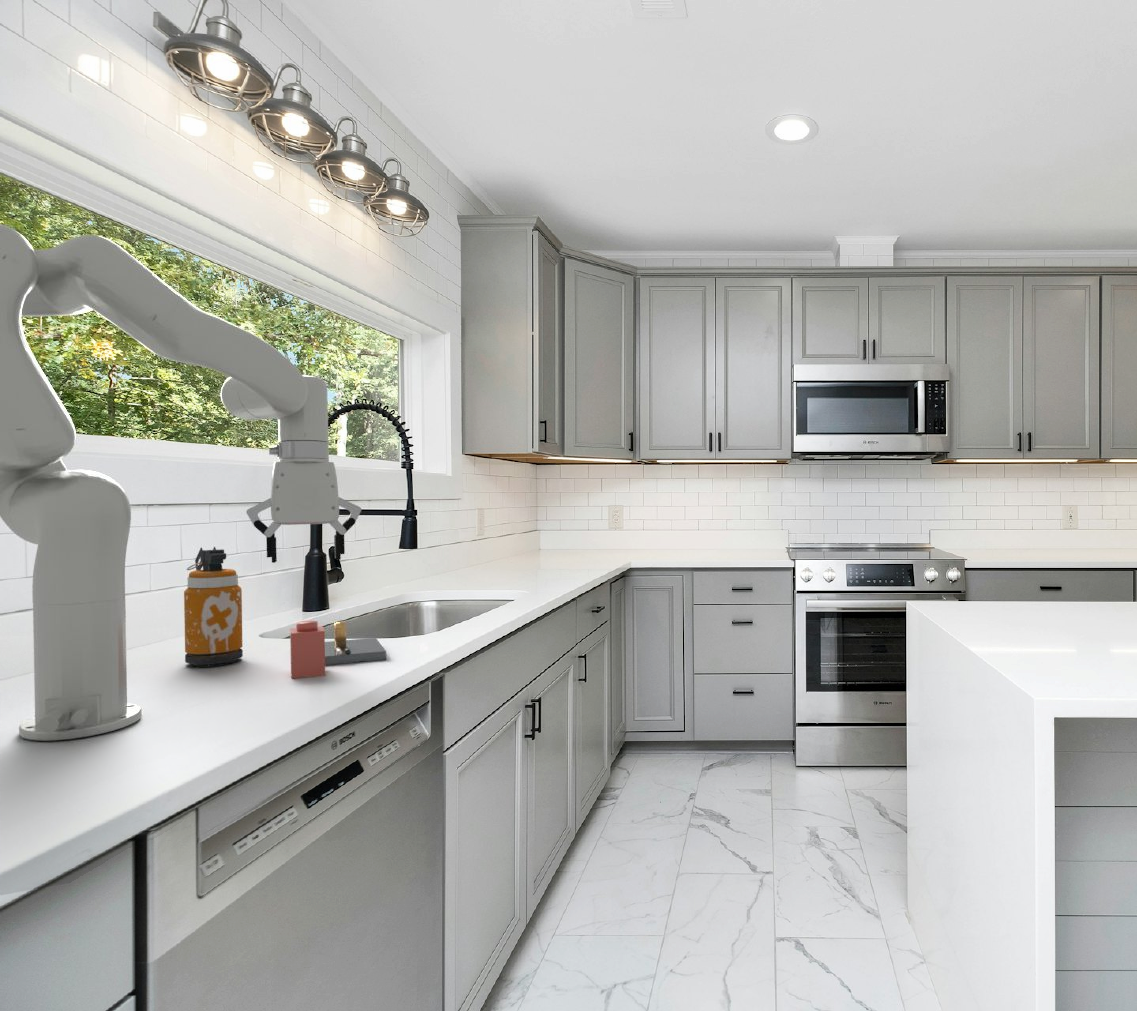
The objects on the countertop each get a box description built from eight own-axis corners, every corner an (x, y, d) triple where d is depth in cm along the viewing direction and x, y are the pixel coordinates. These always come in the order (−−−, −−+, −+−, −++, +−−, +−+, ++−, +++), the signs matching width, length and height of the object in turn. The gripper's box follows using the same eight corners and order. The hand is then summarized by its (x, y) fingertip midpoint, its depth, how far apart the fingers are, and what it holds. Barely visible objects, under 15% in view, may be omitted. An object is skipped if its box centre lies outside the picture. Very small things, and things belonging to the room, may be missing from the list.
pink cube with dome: (325, 675, 116) (324, 623, 116) (291, 678, 114) (290, 625, 114) (323, 668, 121) (322, 619, 120) (290, 671, 119) (290, 621, 119)
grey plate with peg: (386, 660, 126) (385, 625, 126) (300, 668, 121) (299, 632, 121) (375, 645, 140) (375, 614, 140) (297, 652, 135) (297, 619, 134)
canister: (193, 671, 120) (191, 549, 120) (176, 660, 129) (174, 547, 129) (249, 662, 126) (247, 546, 126) (229, 653, 135) (228, 544, 134)
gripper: (244, 452, 110) (246, 565, 111) (362, 452, 117) (364, 559, 117) (246, 455, 117) (248, 561, 118) (357, 455, 124) (359, 556, 124)
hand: (306, 560), depth 117 cm, fingers open, 9 cm apart
